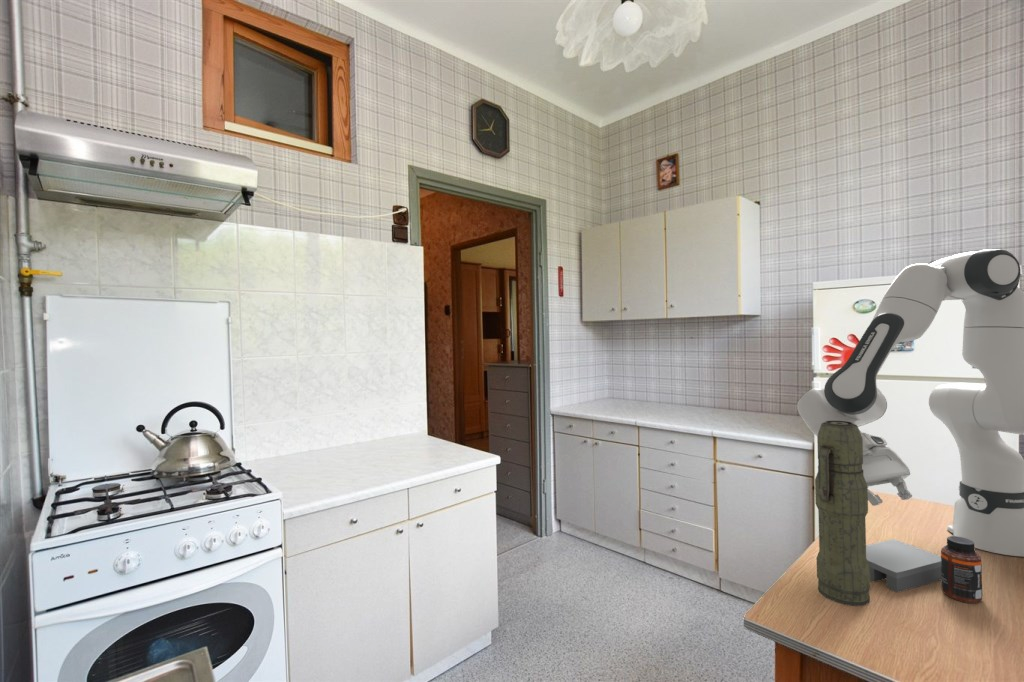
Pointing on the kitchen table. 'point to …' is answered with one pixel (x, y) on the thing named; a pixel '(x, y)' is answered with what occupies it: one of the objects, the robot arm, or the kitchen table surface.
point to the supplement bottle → (961, 570)
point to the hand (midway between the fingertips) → (893, 501)
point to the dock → (902, 565)
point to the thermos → (842, 515)
